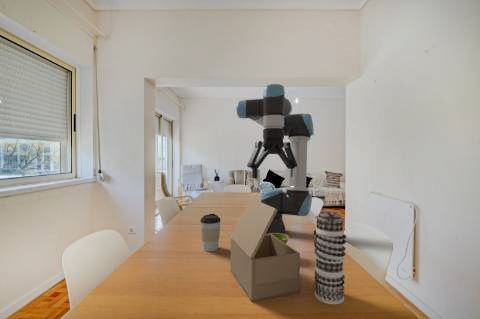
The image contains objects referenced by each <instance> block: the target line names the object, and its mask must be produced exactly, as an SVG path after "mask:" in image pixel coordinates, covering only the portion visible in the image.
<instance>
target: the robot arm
mask: <svg viewBox="0 0 480 319" xmlns="http://www.w3.org/2000/svg"><path fill="white" fill-rule="evenodd" d="M262 97H263V98H255V99H244V100H239V101H237V104H236V107H235V108H236V114H237V116H238V118H240V119H250V120H252V121H254V122H255V123H257V124H259V125H261V126H262V127H263V128H264V129H263V130H262V138H263V141H262V140H257V141H255V143H254V145H255V146H254V149H253V152H252V154H251V156H250V157H249V160H248V163H247V165H246V166H247V168H250V169H251V170H252V172H251V177H252V179H253V188H254V189H255V188H256V189H260V188H261V169H259V167H260V166H261V165H262V164H263V162H264V161H265V159H266V158H267V157H268V156H269V155H277V156H279V159H281V161H282V162H283V164H284V165H285V167H286V168H285V169H284V171H285V172H284V174H285V175H284V185H285V186H284V187H287V188H286V191H285V192H284V191H283V189H280V188H274V189H267V190H264V191H262V192H261V194H260V195H261V196H260V202H262V203H264V204H266V205H268V206H271V207H273V208H275V209H277V212H276V214H275V216H274V218H273V220H272V222H271V224H270V226H269V228H268V230H267V232H266V234H270V233H282V234H286V232H287V231H286V226H285V222H284V218H283V215H286V216H297V217H307V216H308V215H310V212H311V207H312V200H313V195H312V194H311V193H310V190H309V189H308V188H307V170H308V169H307V168H308V167H307V166H308V165H307V164H308V142H309V141H310V140H311V136H314V134H315V133H314V132H315V131H314V130H315V129H314V123H313V117H312V116H311V114H310V113H302V112H301V113H294V114H291V113H292V110H293V106H292V103H291V101H290V100H289V99H288V98H287V97H286V96H285V87H284V85H282V84H278V83H271V84H267V85H265V86H264V88H263V94H262ZM285 137H288V138H287V139H288V140H289V141H287V142H284V139H285ZM262 148H263V150H262Z"/></svg>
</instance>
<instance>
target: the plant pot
mask: <svg viewBox="0 0 480 319" xmlns="http://www.w3.org/2000/svg"><path fill="white" fill-rule="evenodd" d="M270 234H272V235H273V236H275V237H276V238H278V239H279V240H281V241H282V242H284V243H285V244H287V242H288V240H289V238H290V237H289V235H287V234H286V233H285V234H282V233H270ZM287 245H288V244H287Z"/></svg>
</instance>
